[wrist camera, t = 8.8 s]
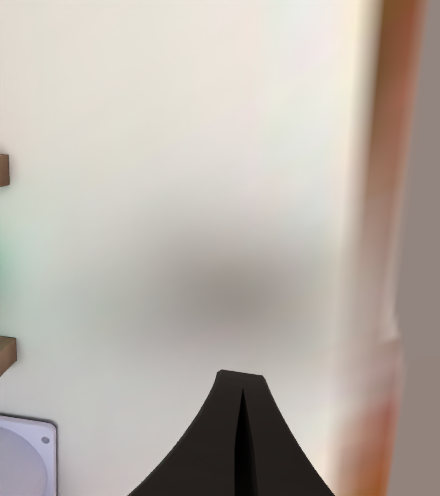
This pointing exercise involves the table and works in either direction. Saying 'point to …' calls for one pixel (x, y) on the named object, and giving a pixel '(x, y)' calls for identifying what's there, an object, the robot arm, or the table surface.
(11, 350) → the brown wooden angled piece
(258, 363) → the table surface
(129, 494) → the robot arm
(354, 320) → the table surface
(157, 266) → the table surface
